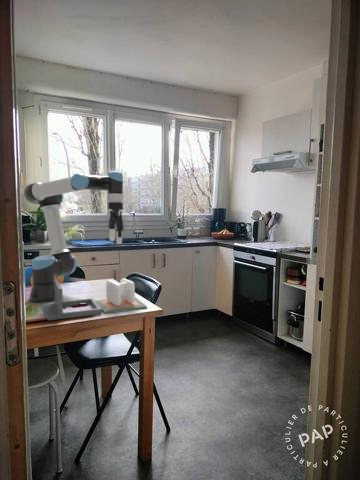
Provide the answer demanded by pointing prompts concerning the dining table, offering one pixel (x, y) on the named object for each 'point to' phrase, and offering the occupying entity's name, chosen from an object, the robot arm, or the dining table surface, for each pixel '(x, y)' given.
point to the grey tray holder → (56, 309)
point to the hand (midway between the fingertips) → (115, 242)
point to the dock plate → (120, 306)
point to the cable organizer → (120, 291)
